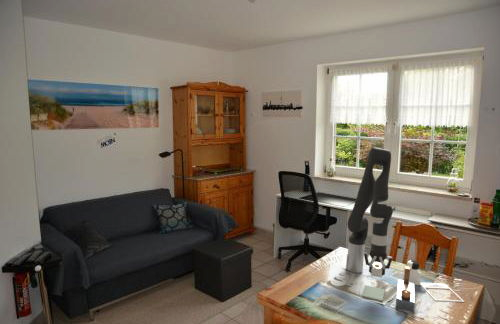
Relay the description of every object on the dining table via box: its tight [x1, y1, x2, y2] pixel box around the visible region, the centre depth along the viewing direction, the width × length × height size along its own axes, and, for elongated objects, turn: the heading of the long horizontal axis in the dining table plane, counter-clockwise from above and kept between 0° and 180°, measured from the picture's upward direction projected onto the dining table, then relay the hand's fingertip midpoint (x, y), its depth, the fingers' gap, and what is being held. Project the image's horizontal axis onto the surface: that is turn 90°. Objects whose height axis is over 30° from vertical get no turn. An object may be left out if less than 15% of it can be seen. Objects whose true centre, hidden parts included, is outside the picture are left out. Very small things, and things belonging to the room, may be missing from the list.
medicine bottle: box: [402, 259, 423, 286], centre depth 193 cm, size 7×7×12 cm
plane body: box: [395, 265, 416, 313], centre depth 174 cm, size 22×8×13 cm, turn 155°
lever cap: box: [370, 262, 383, 278], centre depth 177 cm, size 8×5×5 cm, turn 157°
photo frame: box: [419, 282, 465, 303], centre depth 183 cm, size 15×1×18 cm
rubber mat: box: [361, 284, 385, 303], centre depth 179 cm, size 10×12×1 cm
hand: (376, 273), depth 178 cm, fingers closed on lever cap, 5 cm apart
